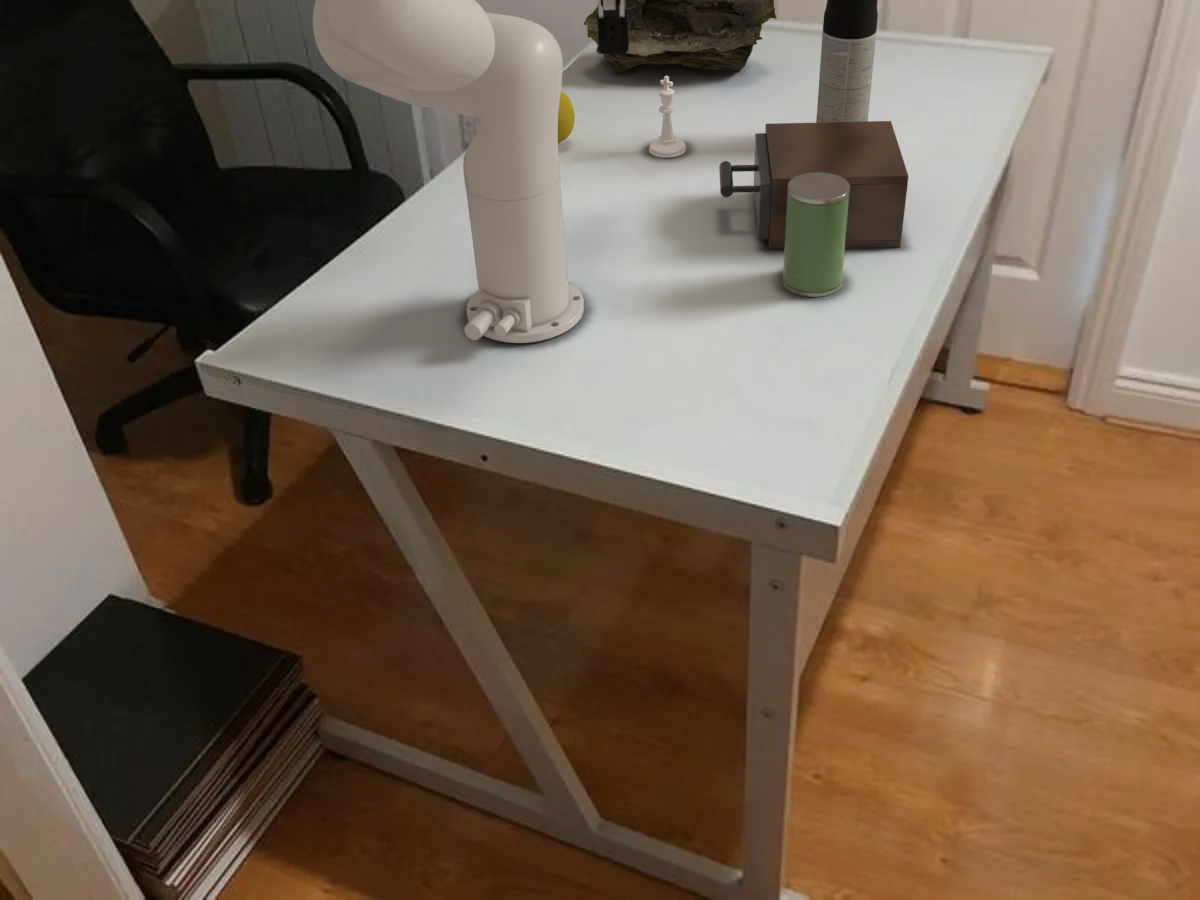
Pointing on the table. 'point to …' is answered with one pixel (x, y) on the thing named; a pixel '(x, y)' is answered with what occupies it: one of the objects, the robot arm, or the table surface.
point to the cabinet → (842, 175)
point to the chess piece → (667, 127)
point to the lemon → (565, 117)
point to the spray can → (847, 60)
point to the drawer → (760, 183)
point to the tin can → (815, 233)
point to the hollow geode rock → (689, 32)
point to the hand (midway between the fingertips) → (614, 50)
